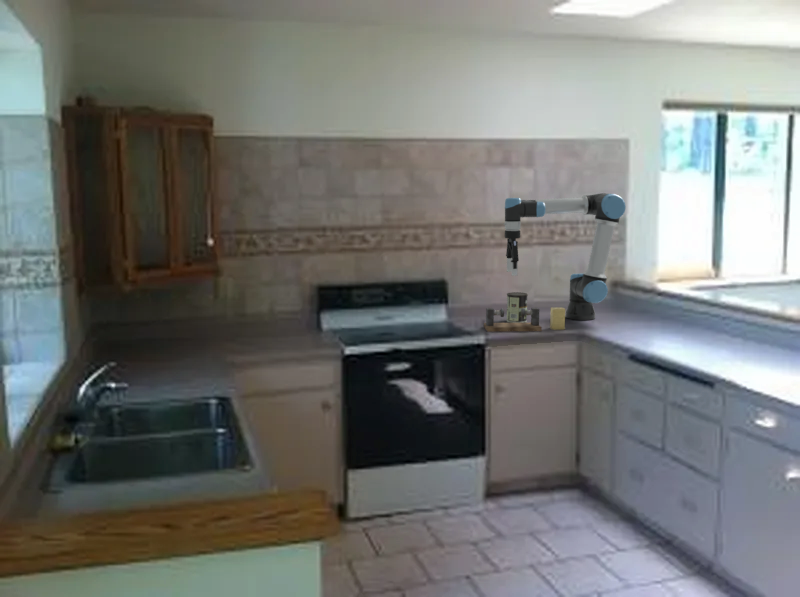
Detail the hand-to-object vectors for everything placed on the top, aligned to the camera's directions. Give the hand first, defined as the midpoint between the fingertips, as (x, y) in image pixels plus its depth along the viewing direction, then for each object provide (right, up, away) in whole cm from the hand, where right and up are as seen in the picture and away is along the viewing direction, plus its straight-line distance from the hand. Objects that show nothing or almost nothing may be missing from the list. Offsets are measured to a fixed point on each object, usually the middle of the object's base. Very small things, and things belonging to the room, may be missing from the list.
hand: (512, 273), depth 391 cm
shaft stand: (-1, -27, -5) cm, 27 cm away
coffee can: (+4, -24, +14) cm, 28 cm away
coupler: (+21, -27, -4) cm, 34 cm away
